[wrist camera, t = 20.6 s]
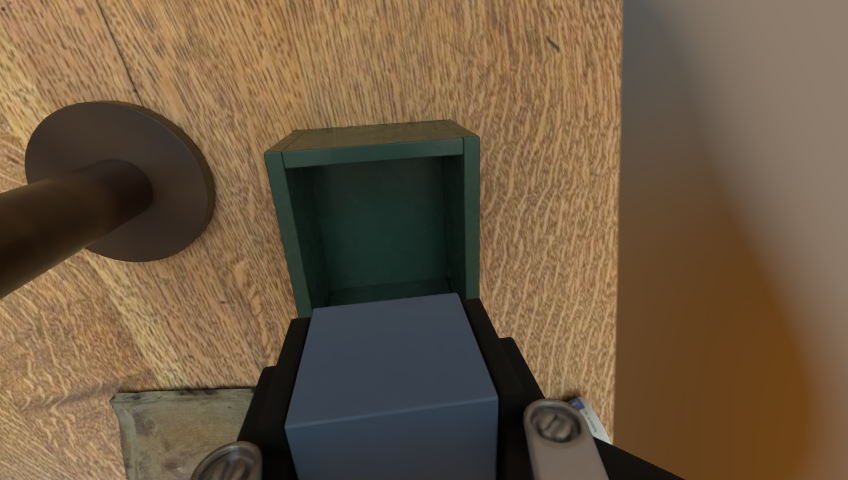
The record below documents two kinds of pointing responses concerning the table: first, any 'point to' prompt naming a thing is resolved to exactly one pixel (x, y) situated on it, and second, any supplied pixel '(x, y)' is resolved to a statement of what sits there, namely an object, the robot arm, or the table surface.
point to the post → (103, 191)
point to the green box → (378, 212)
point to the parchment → (176, 429)
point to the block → (393, 395)
